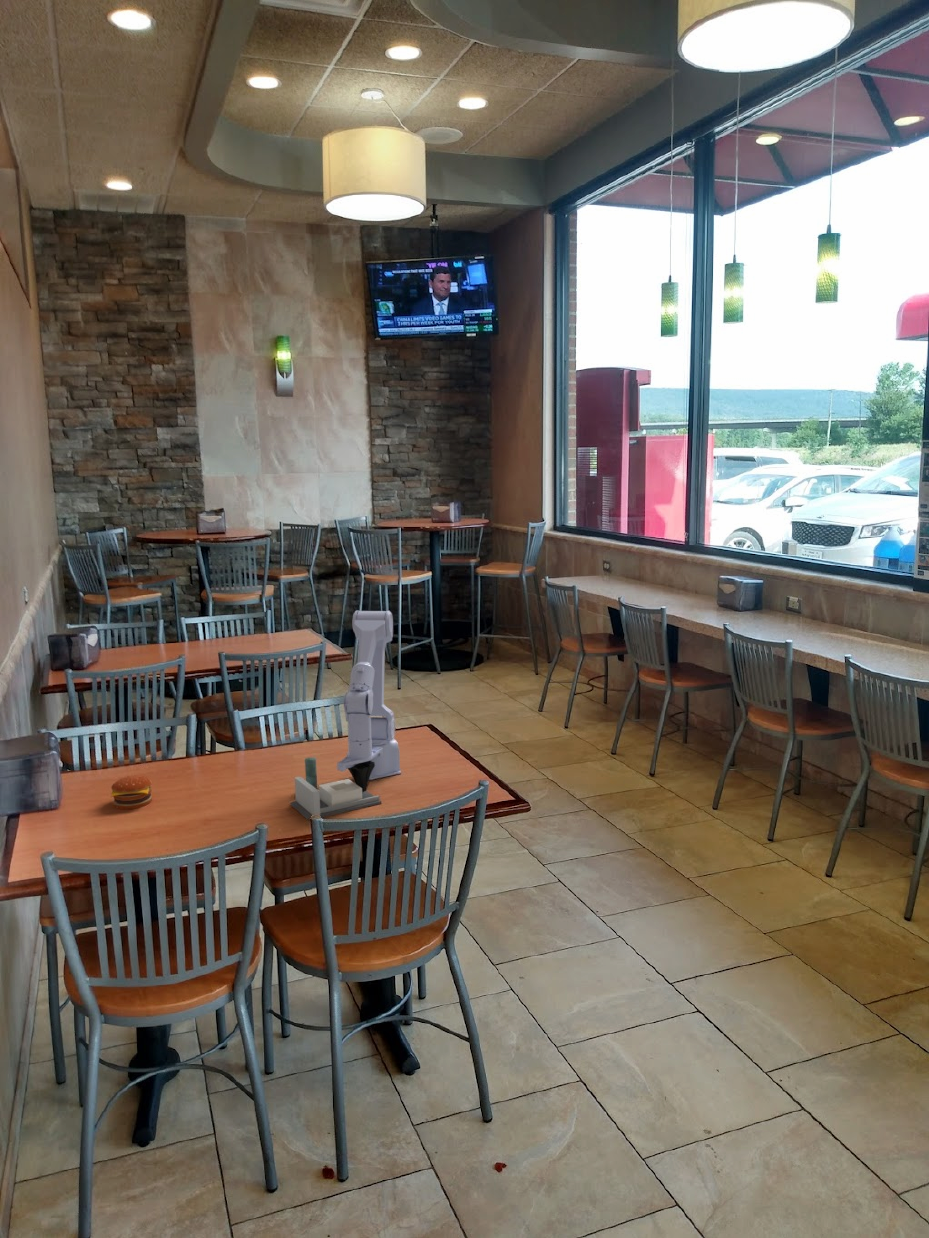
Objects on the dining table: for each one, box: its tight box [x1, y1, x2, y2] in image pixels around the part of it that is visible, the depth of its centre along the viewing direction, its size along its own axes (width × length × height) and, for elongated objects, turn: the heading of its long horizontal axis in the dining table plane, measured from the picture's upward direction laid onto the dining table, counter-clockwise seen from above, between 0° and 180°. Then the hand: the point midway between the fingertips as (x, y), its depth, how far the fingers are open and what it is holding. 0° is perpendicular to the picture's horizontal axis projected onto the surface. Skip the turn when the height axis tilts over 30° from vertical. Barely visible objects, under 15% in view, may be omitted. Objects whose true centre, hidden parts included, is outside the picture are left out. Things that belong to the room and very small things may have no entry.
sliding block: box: [318, 778, 362, 806], centre depth 226 cm, size 8×8×4 cm
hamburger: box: [110, 774, 153, 810], centre depth 228 cm, size 9×10×7 cm
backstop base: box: [289, 776, 382, 821], centre depth 225 cm, size 19×12×7 cm, turn 121°
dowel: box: [304, 756, 318, 790], centre depth 235 cm, size 3×3×8 cm
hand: (361, 790), depth 229 cm, fingers closed
